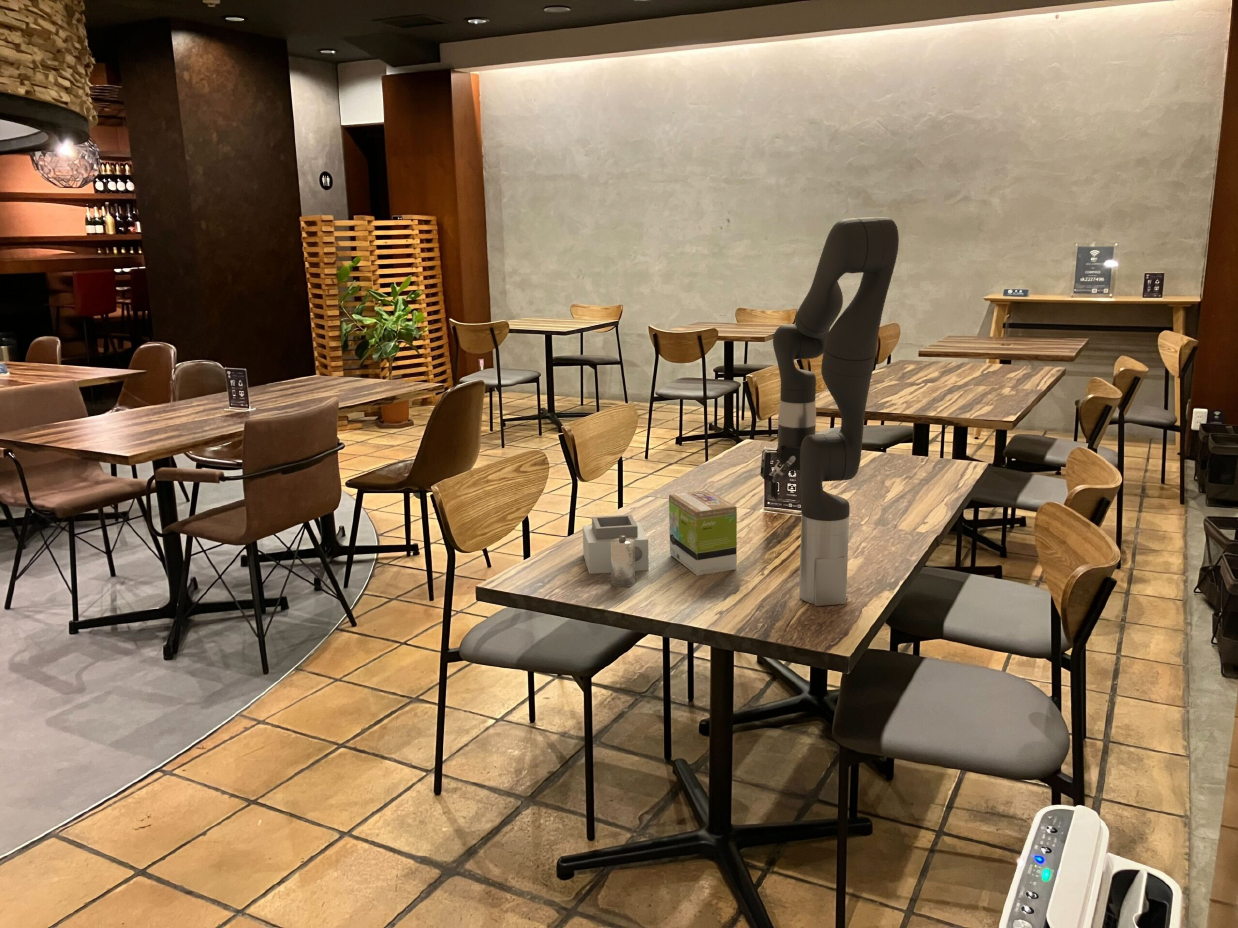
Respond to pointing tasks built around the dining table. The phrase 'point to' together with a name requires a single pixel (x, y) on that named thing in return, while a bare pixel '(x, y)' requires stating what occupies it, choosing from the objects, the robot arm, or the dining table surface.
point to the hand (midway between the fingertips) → (794, 497)
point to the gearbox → (601, 536)
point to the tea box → (703, 532)
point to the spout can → (622, 561)
